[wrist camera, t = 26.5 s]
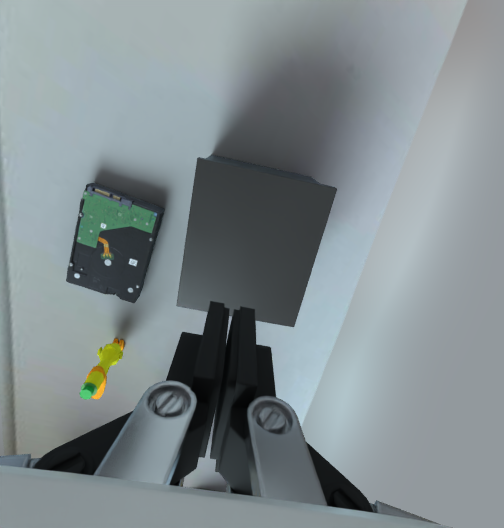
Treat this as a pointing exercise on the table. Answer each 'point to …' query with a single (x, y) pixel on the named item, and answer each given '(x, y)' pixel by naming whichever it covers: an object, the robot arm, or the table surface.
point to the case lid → (251, 240)
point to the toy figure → (102, 370)
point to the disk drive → (113, 242)
